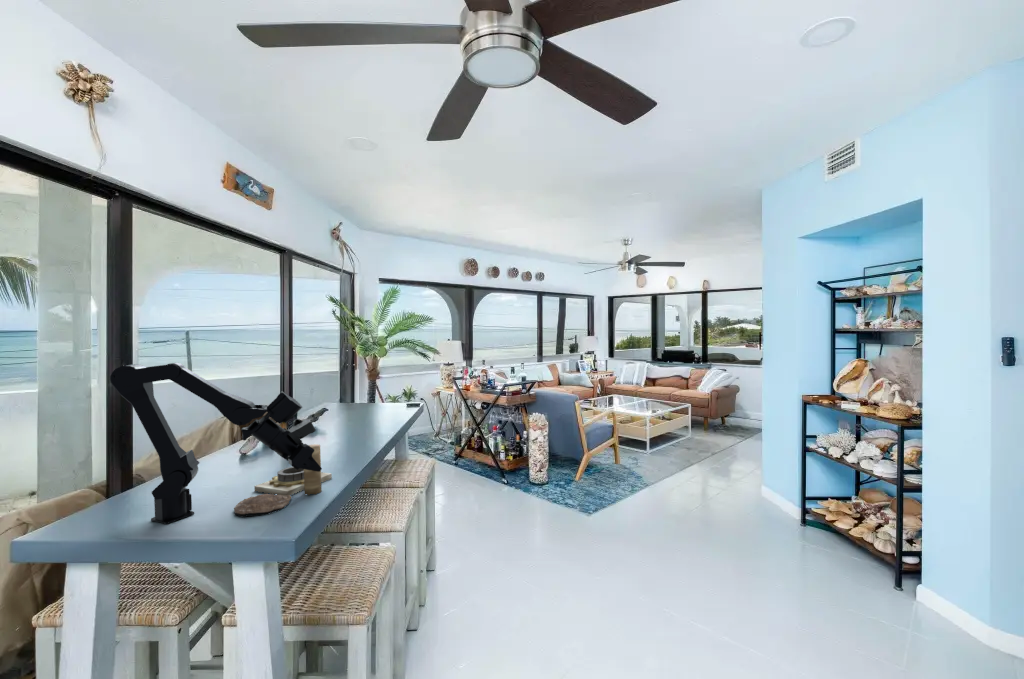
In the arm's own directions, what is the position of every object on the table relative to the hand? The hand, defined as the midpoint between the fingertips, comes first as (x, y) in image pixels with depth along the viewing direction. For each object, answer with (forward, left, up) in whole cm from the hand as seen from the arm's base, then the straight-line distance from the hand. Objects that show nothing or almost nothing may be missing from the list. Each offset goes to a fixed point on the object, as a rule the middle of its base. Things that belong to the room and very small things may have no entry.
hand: (317, 467), depth 126 cm
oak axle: (-1, +1, -7) cm, 7 cm away
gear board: (+2, +11, -7) cm, 13 cm away
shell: (-14, +5, -7) cm, 17 cm away
